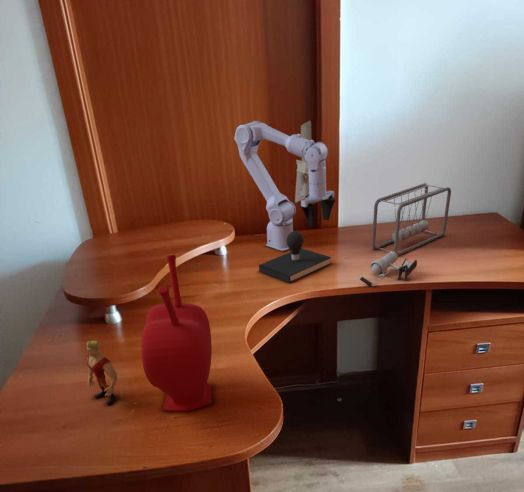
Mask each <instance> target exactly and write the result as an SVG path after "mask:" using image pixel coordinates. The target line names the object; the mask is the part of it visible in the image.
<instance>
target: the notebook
mask: <svg viewBox="0 0 524 492" xmlns="http://www.w3.org/2000/svg"><path fill="white" fill-rule="evenodd" d="M331 259H332V257H331V256H330V255H329V256H328V255H325V254H322V253H319V252H316V251H312V250H309V249H305V248H302V247H301V249H300V253H299V259H298V260H297V261H294V260H292V255H291V251H290V252H287V253H284V254H282V255H279V256H277V257H275V258H273V259H270V260H267V261H265V262H263V263H260V264H258V272H259V273H261V274H263V275H266V276H268V277H272V278H273V279H277V280H279V281H281V282H282V281H283V282H285V283H288V284H291V283H294V282H296V281H298V280H300V279H303V278H305V277H306V276H309V275H311V274H313V273H315V272H317V271H319V270H321V269H324V268H326V267H328V266H330V265H332V263H331Z"/></svg>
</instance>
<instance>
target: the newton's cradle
mask: <svg viewBox="0 0 524 492" xmlns="http://www.w3.org/2000/svg"><path fill="white" fill-rule="evenodd" d="M429 187H431V188H437V189H435V190H432V189H429ZM419 190H420V194H421V195H419V194H417V196H415V193H416V192H417V193H419ZM422 190H424V192H422ZM445 192H447V194H446V195H447V196H446V200H445V201H446V203H445V209H444V217H443V223H442V230H441V232H440V233H438V232H434V231H429V230H428V229H429V227H430V223H429V222H428V221H427V220H426V219H427V216H428V212H429V208H430V205H431V202H432V197H434V196H436V195H440V194H442V193H445ZM410 194H412V195H414V197H410V196H409V195H410ZM405 195H407V198H408V199H407V200H405V199H402V198H403V197H404V198H406V196H405ZM399 197H400V198H399ZM451 197H452V189H451V188H450V187H449V186H446V187H444V186H443V187H442V186H436V185H431V184H428V183H427V182H423V183H420V184H418V185H415V186H411V187H408V188H406V189H403V190H400V191H397V192H394V193H391V194H389V195H385V196H382V197H380V198H378V199H377V200H376V201H375V203H374V207H373V219H372V220H373V221H372V237H371V247H372V249H374V250H381V251H385V252H388V253H389V252H395V253H396V254H397V255H398V257H399V256H401V255H403V254H406V253H408V252H410V251H412V250H415V249H417V248H419V247H421V246H423V245H426V244H427V243H430V242H432V241H435V240H437V239H439V238H441V237H443V236H444V235H445V233H446V231H447V224H448V216H449V211H450V210H449V209H450V204H451V203H450V202H451ZM398 198H399V200H400V201H401V202H399V203H398V202H396V201H395V200H397V199H398ZM429 198H430V201H429V203H428V202H427V201H428V199H429ZM390 200H393V201H394V202H392V201H390ZM420 201H421V202H422V203H421V211H420V215H419V219H418V220H417V218H416V214H417V209H418V207H419V202H420ZM381 202H383V203H388V204H392V205H395V206H396V205H397V206H398V208H397V210H394V214H395V215H394V216H395V231H394V232H392V234H391V239H389V240H387V241H385V242H382V243H380V244H377V245H376V240H377V239H376V237H377V224H378V222H377V221H378V208H379V207H378V206H379V204H380V203H381ZM427 203H428V208H427ZM413 204H414V207H415V212H414V215H413V219H412V223H411V224H409V225H408V220H409V221H411V214H410V213H411V210H412V206H413ZM407 206H410V207H409V211H408V216H407V218H406V219H407V220H406V223H405V227H404V225H402V228H401V224H402V222H403V219H404V213H405V210H406V209H405V208H406V207H407ZM426 210H427V212H426ZM414 221H415V223H414ZM407 225H408V226H407ZM400 228H401V229H400ZM421 232H426V233H430V234H434V236H431V237H430V238H427V239H424V240H423V241H420V242H418V243H416V244H413V245H411V246H408V247H406V248H404V249H402V250H400V251H398V246H399V243H400V242H401V241H402V240H407V239H408V238H409V237H414V235H417V234H420V233H421ZM393 243H394V245H393V251H392V250H389V249H385V248H382V247H385V246H388V245H390V244H393Z"/></svg>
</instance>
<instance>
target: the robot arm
mask: <svg viewBox="0 0 524 492" xmlns="http://www.w3.org/2000/svg"><path fill="white" fill-rule="evenodd" d="M233 139H234V141H235V143H236V145H237V148H238V153H239V154H238V155H239V157H240V159H241V161H242V163H243V165H244V166H245V167H246V170H247V171H248V173H249V174H250V176H251V178H252V179H253V181H254V183H255V184H256V186H257V188H258V190H259V191H260V193H261V194H262V196H263V198H264V200H265V201H266V206H265V210H266V211H267V214H268V219H269V222H268V224H267V226H266V237H267V238H266V240H267V242H266V244H265V246H266V247H269V248H272V249H274V250H278V251H280V252H286V251H289V250H290V249H289V247H288V245H287V242H286V238H287V236H288V234H289V233H291V232H293V231H294V222H293V219H294V218H293V217H295V215H296V211H297V209H296V206H295V204H294V203H293V202H292V201H290V200H289V198H288V197H287V196H286V195H285V194H284V193H281V192H280V191H279V189H278V187H277V185H276V183H275V182H274V180H273V179H272V177H271V176H270V173H269V172H268V170H267V169H266V167H265V165H264V163H263V162H262V160H261V158H260V157H259V155H258V149H259V145H260V144H261V142H262V141H264V140H266V141H269V142H272V143H274V144H277V145H280V146H283V147H285V148H286V150H287V152H288V153H289V154H292V155H294V156H296V157H300V158H302V159H304V160H305V162H306V163H307V170H308V171H307V174H308V193H309V194H308V196H307V197H305V198H304V199H302V200H300V209H301V211H302V212H303V214H304V216H305V218H306V222H307V225H308V226H309V227H314V226H315V224H316V223H315V222H316V220H315V219H316V211H317V208H318V207H317V206H314V205H313V204H317V203H320V206H321V213H322V219H323V220H324V221H330V217H331V213H332V210H333V206H334V205H335V203H336V198H334V197H335V191H334V190H327V167H326V166H327V165H326V163H327V162H326V159H327V158H328V155H329V148H328V147H327V145H326V144H325V143H324V142H322V141H317V142H315V140H313V139H308V138H304V137H302V134H301V133H297V134H294V133H293V134H291V135H288V134H286V133H284V132H282V131H280V130H278V129H276V128H273V127H271V126H269V125H267V124H266V123H264V122H260V121H259V120H253V121H251V122H247V123H245V124H240V125H238V126H237V127H236V129H235V133H234V137H233Z"/></svg>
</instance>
